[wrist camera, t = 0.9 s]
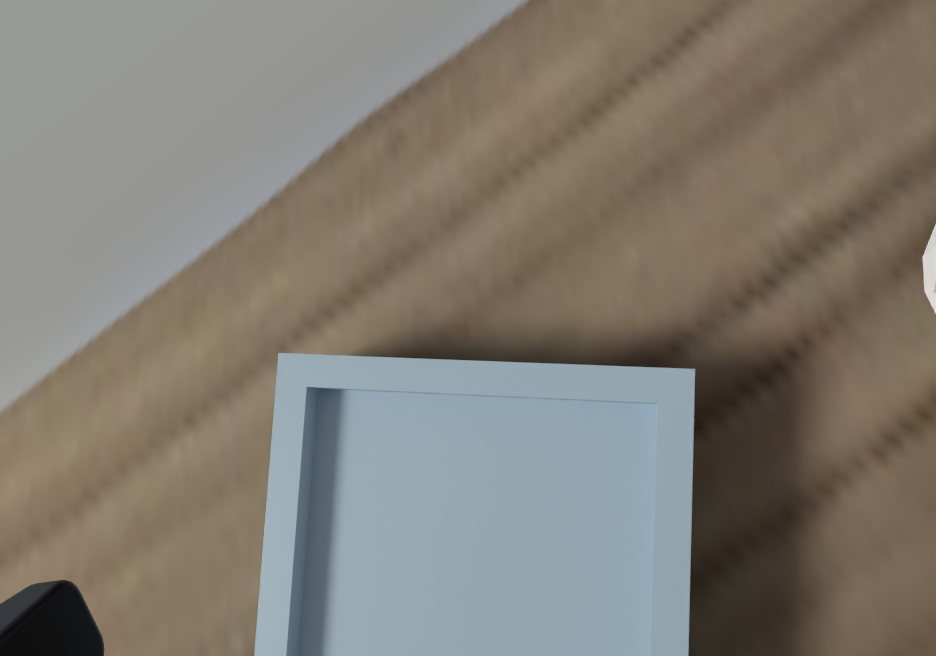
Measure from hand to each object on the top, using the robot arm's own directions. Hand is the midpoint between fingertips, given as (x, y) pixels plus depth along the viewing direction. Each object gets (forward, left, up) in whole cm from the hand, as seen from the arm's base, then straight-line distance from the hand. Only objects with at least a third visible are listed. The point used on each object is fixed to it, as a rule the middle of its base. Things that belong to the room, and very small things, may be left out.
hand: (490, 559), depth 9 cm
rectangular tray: (-2, +2, -15) cm, 15 cm away
